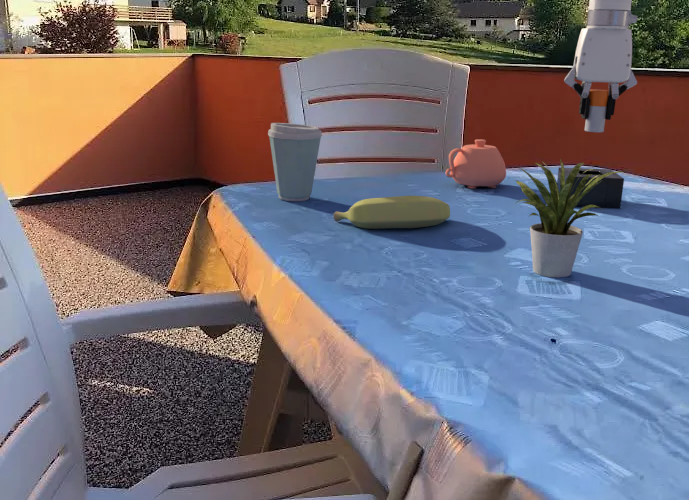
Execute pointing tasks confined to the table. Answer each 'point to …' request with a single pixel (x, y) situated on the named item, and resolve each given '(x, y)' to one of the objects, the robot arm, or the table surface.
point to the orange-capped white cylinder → (597, 110)
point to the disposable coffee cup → (294, 159)
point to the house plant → (557, 221)
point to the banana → (396, 212)
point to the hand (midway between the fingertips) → (595, 117)
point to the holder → (597, 188)
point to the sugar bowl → (477, 165)
